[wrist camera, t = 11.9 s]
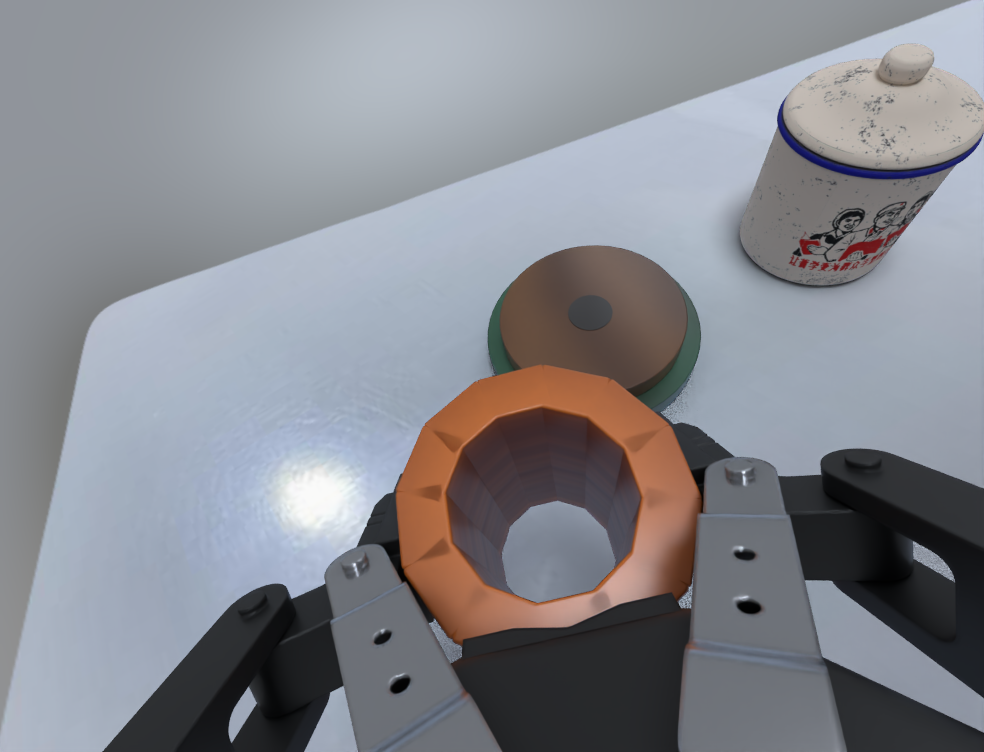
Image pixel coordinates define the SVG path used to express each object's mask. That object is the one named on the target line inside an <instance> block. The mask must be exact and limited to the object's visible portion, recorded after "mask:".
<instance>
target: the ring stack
mask: <svg viewBox="0 0 984 752" xmlns="http://www.w3.org/2000/svg"><path fill="white" fill-rule="evenodd" d="M700 341H701V331H700V323H699V319H698V315H697V312H696V310H695V307H694V305H693V303H692V301H691V299H690V298H689V296H688V295H687V293H686V292H685V290H684V289H683V288H682V287H681V286H680V285H679V284H678V282H676V281H675V280H674V279H673V278H672V277H671V276H670V275H669V274H668V273H667V272H666V271H665V270H664V269H663V268H661V267H660V266H659V265H657V264H656V263H655V262H653V261H652V260H650V259H648V258H646V257H644V256H642V255H640V254H637V253H635V252H632V251H629V250H625V249H622V248H616V247H611V246H581V247H574V248H569V249H565V250H562V251H559V252H555V253H553V254H551V255H548V256H546V257H544V258H542V259H540V260H539V261H537V262H535V263H534V264H532V265H531V266H530V267H528V268H527V269H526V270H525V271H524V272H522V273H521V274H520V275H519V276H518V278H517V279H516V280H515V281H513V282H512V283H511V284H510V285H509V287H508V288H507V289H506V290H505V291H504V292H503V294H502V295H501V297H500V298H499V300H498V302H497V304H496V306H495V308H494V310H493V312H492V315H491V318H490V322H489V328H488V348H489V354H490V357H491V360H492V364H493V367H494V370H495V373H496V376H497V375H501V374H505V373H509V372H513V371H517V370H521V369H524V368H528V367H532V366H536V365H542V366H543V365H549V366H554V367H559V368H564V369H569V370H573V371H578V372H583V373H588V374H593V375H598V376H602V377H607V378H610V380H612V379H613V380H614V381H616V382H617V383H618V384H619V385H621V386H622V387H623V388H625V389H626V390H627V391H628V392H630V393H631V394H632V395H633V396H635V397H636V398H637V399H638V400H640V401H641V402H642V403H644V404H645V405H646V406H647V407H649V408H650V409H651V410H652V411H654V412H656V411H659V412H661V411H662V410H664V409H665V408H666V407H667V406H668V405H670V404H671V403H672V402H673V401H674V400H675V398H676V397H677V396H678V395H679V394H680V393H681V391H682V390H683V388H684V387H685V385H686V384H687V382H688V380H689V377H690V375H691V373H692V371H693V368H694V366H695V363H696V361H697V358H698V354H699V350H700Z"/></svg>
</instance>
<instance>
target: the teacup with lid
mask: <svg viewBox="0 0 984 752" xmlns="http://www.w3.org/2000/svg"><path fill="white" fill-rule="evenodd" d="M933 62H934V53H933V51H932V50H931V49H930V48H928V47H926V46H923V45H920V44H902V45H899V46H896V47H894V48H892V49H891V50H890V51H888V52H887V53H886V54H885V55H884V57H883V59H863V60H855V61H848V62H844V63H839V64H836V65H832V66H829V67H826V68H824V69H821V70H819V71H817V72H815V73H813V74H811V75H810V76H808V77H806V78H805V79H804V80H802V81H801V82H800V83H799V84H798V85H796V86H795V87H794V88H793V89H792V91H791V92H790V93H789V95H788V96H787V97H786V98H785V99H784V101H783V102H782V104H781V106H780V109H779V112H778V116H777V123H778V127H777V129H776V132H775V135H774V137H773V140H772V143H771V145H770V148H769V150H768V153H767V156H766V158H765V161H764V164H763V166H762V169H761V171H760V174H759V177H758V179H757V182H756V184H755V187H754V190H753V192H752V195H751V198H750V200H749V203H748V205H747V208H746V211H745V213H744V216H743V218H742V221H741V225H740V238H741V242H742V245H743V247H744V249H745V251H746V252H747V254H748V255H749V256H750V258H751V259H752V260H753V261H754V262H755V263H756V264H758V265H759V266H760V267H761V268H763V269H764V270H766V271H768V272H769V273H771V274H773V275H775V276H777V277H780V278H782V279H785V280H788V281H792V282H796V283H801V284H807V285H834V284H840V283H845V282H849V281H852V280H854V279H857V278H859V277H861V276H863V275H865V274H867V273H868V272H870V271H871V270H872V269H873V268H874V267H875V266H877V265H878V263H879V262H880V261H881V260H882V258H883V257H884V256H885V255H886V253H887V252H888V251H889V250H890V248H891V247H892V246H893V244H894V243H895V242H896V241H897V239H898V238H899V237H900V235H901V234H902V233H903V232H904V230H905V229H906V228H907V227H908V225H909V224H910V223H911V221H912V220H913V219H914V218H915V216H916V215H917V214H918V213H919V211H920V210H921V209H922V207H923V206H924V205H925V204H926V202H927V201H928V200H929V198H930V197H931V196H932V195H933V193H934V192H935V191H936V190H937V188H938V187H939V186H940V184H941V183H942V182H943V181H944V179H945V178H946V177H947V176H948V174H949V173H950V172H951V170H952V169H953V168H954V167H955V165H956V164H958V163H960V162H961V161H963V160H964V159H966V158H967V157H968V156H969V155H970V154H971V153H972V152H973V151H974V150H975V149H976V148H977V146H978V145H979V143H980V141H981V139H982V136H983V133H984V102H983V100H982V98H981V97H980V96H979V94H978V93H977V92H976V91H975V90H974V89H973V88H972V87H971V86H970V85H969V84H968V83H966V82H965V81H963V80H962V79H960V78H958V77H957V76H955V75H953V74H951V73H949V72H946V71H944V70H942V69H939V68H936V67H933V66H932V64H933Z"/></svg>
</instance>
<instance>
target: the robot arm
mask: <svg viewBox="0 0 984 752" xmlns="http://www.w3.org/2000/svg"><path fill="white" fill-rule="evenodd" d="M655 413H656V414H657V415H659V416H660V417H661V418H663V419H664V420H665V421H666V422H668V424H669V426H671V427H672V429H673V431H674V433H675V436H676V438H677V440H678V443H679V445H680V447H681V450H682V452H683V454H684V457H685V459H686V461H687V464H688V466H689V468H690V471H691V473H692V475H693V478H694V480H695V482H696V485H697V487H698V489H699V491H700V494H701V496H702V502H703V505H702V513H698V514H697V526H696V542H695V558H694V574H693V590H692V606H691V609H690V608H680V606H679V604H678V602H677V601H676V599H675V597H674V595H673V594H672V592H670V593H666V594H661V595H657V596H653V597H648V598H644V599H639V600H635V601H630V602H626V603H622V604H618V605H616V606H614V607H612V608H610V609H607V610H605V611H603V612H601V613H599V614H597V615H594V616H592V617H590V618H588V619H586V620H583V621H581V622H579V623H577V624H575V625H572V626H569V627H553V628H511V629H507V630H503V631H498V632H494V633H489V634H485V635H481V636H476V637H472V638H467V639H463V645H462V658H460V659H458V660H456V661H454V662H453V663H451V664H450V662H449V660H448V658H447V656H446V655H445V653H444V651H443V649H442V647H441V645H440V643H439V642H438V640H437V638H436V636H435V634H434V632H433V631H432V629H431V627H430V625H429V623H430V622H433V621H434V617H433V615H432V614H431V612H430V611H429V609H428V608H427V606H426V605H425V604H424V602H423V601H422V599H421V598H420V596H419V595H418V593H417V592H416V591H415V589H414V588H413V586H412V585H411V583H410V582H409V581H408V579H407V578H406V576H405V575H404V569H402V567H401V557H400V544H399V532H398V520H397V507H396V493H397V491H396V488H397V486H398V483H399V481H400V479H401V476H402V474H403V473H402V474H400V477H399V479H398V482H397V484H396V487H395V489H394V492H393V493H389V494H386V495H385V496H384V497H383V498H382V499H381V500H380V501H379V502H378V503H377V504H376V505H375V507H374V509H373V511H372V514H371V518H369V520H368V523H367V527H365V529H364V532H363V534H362V536H361V538H360V541H359V543H358V545H357V547H356V548H354V549H351V550H349V551H347V552H345V553H344V554H342V555H341V556H339V557H338V558H337V559H335V560H334V561H333V562H332V563H331V564H330V565H329V567H328V568H327V570H326V572H325V575H324V578H325V583H326V584H324V585H322V586H320V587H318V588H316V589H314V590H311V591H309V592H307V593H305V594H302V595H300V596H298V597H295V598H293V599H291V597H290V594H289V592H288V590H287V588H286V586H284V585H282V584H270V585H266V586H263V587H260V588H258V589H255V590H253V591H251V592H249V593H248V594H246V595H244V596H243V597H241V598H240V599H238V600H237V601H236V602H234V603H233V604H232V605H231V606H230V607H229V608H228V609H227V610H226V611H225V612H224V613H223V615H222V616H221V617H220V618H219V619H218V620H217V621H216V623H215V624H214V625H213V626H212V627H211V628H210V629H209V631H208V632H207V633H206V634H205V635H204V636H203V637H202V639H201V640H200V641H199V642H198V643H197V644H196V645H195V647H194V648H193V649H192V650H191V651H190V652H189V653H188V655H187V656H186V657H185V658H184V659H183V660H182V661H181V663H180V664H179V665H178V666H177V667H176V668H175V669H174V671H173V672H172V673H171V674H170V675H169V676H168V677H167V679H166V680H165V681H164V682H163V683H162V684H161V685H160V687H159V688H158V689H157V690H156V691H155V692H154V693H153V695H152V696H151V697H150V698H149V699H148V700H147V701H146V703H145V704H144V705H143V706H142V707H141V708H140V709H139V711H138V712H137V713H136V714H135V715H134V716H133V717H132V719H131V720H130V721H129V722H128V723H127V724H126V725H125V727H124V728H123V729H122V730H121V731H120V732H119V733H118V735H117V736H116V737H115V738H114V739H113V740H112V741H111V743H110V744H109V745H108V746H107V747H106V748H105V749H104V751H103V752H304V751H305V749H306V747H307V745H308V743H309V740H310V738H311V736H312V734H313V732H314V730H315V728H316V726H317V724H318V722H319V720H320V718H321V715H322V713H323V711H324V709H325V707H326V705H327V703H328V700H329V696H330V692H332V691H334V690H336V689H338V688H340V687H342V686H344V689H345V694H346V698H347V703H348V707H349V712H350V716H351V721H352V726H353V730H354V735H355V739H356V744H357V748H358V752H984V733H983V732H981V731H979V730H977V729H975V728H972V727H970V726H968V725H966V724H964V723H962V722H960V721H958V720H955V719H953V718H951V717H949V716H947V715H945V714H943V713H940V712H938V711H936V710H934V709H932V708H930V707H928V706H926V705H923V704H921V703H919V702H917V701H915V700H913V699H911V698H909V697H906V696H904V695H902V694H900V693H898V692H896V691H894V690H892V689H889V688H887V687H885V686H883V685H881V684H879V683H877V682H874V681H872V680H870V679H868V678H866V677H864V676H862V675H860V674H857V673H855V672H853V671H851V670H849V669H847V668H845V667H843V666H840V665H838V664H836V663H834V662H832V661H830V660H828V659H826V658H823V657H822V654H821V650H820V645H819V641H818V637H817V632H816V628H815V623H814V619H813V615H812V610H811V606H810V602H809V597H808V593H807V588H806V584H805V580H829V581H833V583H834V584H835V585H836V587H837V588H839V589H840V590H841V591H842V592H843V593H845V594H846V595H847V596H849V597H850V598H851V599H853V600H854V601H855V602H857V603H858V604H859V605H861V606H862V607H863V608H865V609H866V610H867V611H869V612H870V613H871V614H873V615H874V616H875V617H877V618H878V619H879V620H881V621H882V622H883V623H885V624H886V625H887V626H889V627H890V628H891V629H893V630H894V631H895V632H897V633H898V634H899V635H901V636H902V637H903V638H905V639H906V640H907V641H909V642H910V643H911V644H913V645H914V646H915V647H917V648H918V649H919V650H921V651H922V652H923V653H925V654H926V655H927V656H929V657H930V658H931V659H933V660H934V661H935V662H937V663H938V664H939V665H941V666H942V667H943V668H945V669H946V670H947V671H949V672H950V673H951V674H953V675H954V676H955V677H956V678H958V679H959V680H960V681H962V682H963V683H964V684H966V685H967V686H968V687H970V688H971V689H972V690H974V691H975V692H976V693H978V694H979V695H980V696H982V697H983V698H984V489H983V488H981V487H978V486H975V485H973V484H970V483H967V482H965V481H962V480H960V479H957V478H954V477H952V476H949V475H946V474H944V473H941V472H938V471H936V470H933V469H931V468H928V467H925V466H923V465H920V464H917V463H915V462H912V461H909V460H907V459H904V458H902V457H899V456H896V455H894V454H891V453H887V452H883V451H879V450H872V449H844V450H839V451H835V452H832V453H829V454H827V455H826V456H824V457H823V458H822V460H821V463H820V464H821V475H810V476H789V477H786V476H778V474H777V471H776V469H775V467H774V466H772V465H771V464H770V463H768V462H765V461H763V460H759V459H755V458H748V457H734V456H733V455H732V454H731V453H729V452H728V451H727V450H726V449H724V448H723V447H722V446H720V445H719V444H718V443H715V441H714V440H713V439H712V438H710V437H709V436H707V434H705V433H704V432H703V431H702V430H700V429H699V428H698V427H695V426H692V425H688V424H685V423H678V424H673V423H672V422H670V421H669V420H668V419H667V418H666V417H665V416H664V415H662V414H661V413H660V412H659V411H656V412H655ZM913 541H914V542H916V543H918V544H920V545H922V546H924V547H925V548H927V549H929V550H931V551H932V552H934V553H935V554H937V555H938V556H939V557H940V558H942V559H943V561H944V562H945V563H946V564H947V565H948V566H949V568H950V570H951V571H952V573H953V575H954V578H955V582H953V581H951V580H949V579H948V578H946V577H944V576H942V575H941V574H939V573H937V572H935V571H934V570H932V569H930V568H929V567H927V566H925V565H923V564H922V563H920V562H918V561H916V560H915V559H914V558H913ZM248 686H249V688H250V690H251V692H252V694H253V696H254V698H255V700H256V702H257V704H256V706H255V707H254V709H253V710H252V712H251V714H250V715H249V717H248V718H247V720H246V722H245V723H244V725H243V726H242V728H241V729H240V731H239V733H238V734H237V736H236V737H235V739H234V741H233V742H232V743H231V741H230V739H229V733H228V728H229V721H230V717H231V714H232V711H233V709H234V707H235V706H236V704H237V703H238V701H239V700H240V698H241V697H242V695H243V694H244V692H245V691H246V689H247V688H248Z"/></svg>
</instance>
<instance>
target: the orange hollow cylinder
mask: <svg viewBox="0 0 984 752" xmlns="http://www.w3.org/2000/svg"><path fill="white" fill-rule="evenodd" d="M396 491H397V493H396V507H397V520H398V532H399V544H400V557H401V567H402V569H404V575H405V576H406V578H407V579H408V581H409V582H410V583H411V585H412V586H413V588H414V589H415V591H416V592H417V593H418V595H419V596H420V598H421V599H422V601H423V602H424V604H425V605H426V606H427V608H428V609H429V611H430V612H431V614H432V615H433V617H434V618H435V619H436V621H437V622H438V624H439V625H440V627H441V628H442V630H443V631H444V632H445V634H446V635H447V637H448V638H450V639H453V642H454V643H455V644H457V645H460V646H462V645H463V639H467V638H472V637H476V636H481V635H485V634H489V633H494V632H498V631H503V630H507V629H511V628H553V627H569V626H572V625H575V624H577V623H579V622H581V621H583V620H586V619H588V618H590V617H592V616H594V615H597V614H599V613H601V612H603V611H605V610H607V609H610V608H612V607H614V606H616V605H618V604H622V603H626V602H630V601H635V600H639V599H644V598H648V597H653V596H657V595H661V594H666V593H670V592H672V594H673V595H674V597H675V599H676V601H677V602H679V600H680V599H681V598H682V597H683V596H684V595H685V594H686V593H687V592H688V589H689V587H690V586H691V584H692V578H693V571H694V558H695V542H696V526H697V514H698V513H702V505H703V502H702V496H701V494H700V491H699V489H698V487H697V485H696V482H695V480H694V478H693V475H692V473H691V471H690V468H689V466H688V464H687V461H686V459H685V457H684V454H683V452H682V450H681V447H680V445H679V443H678V440H677V438H676V436H675V433H674V431H673V429H672V427H671V426H669V424H668V422H666V421H665V420H664V419H663V418H661V417H660V416H659V415H657V414H656V413H655V412H654V411H652V410H651V409H650V408H649V407H647V406H646V405H645V404H644V403H642V402H641V401H640V400H638V399H637V398H636V397H635V396H633V395H632V394H631V393H630V392H628V391H627V390H626V389H625V388H623V387H622V386H621V385H619V384H618V383H617V382H616V381H614V380H613V379H612V380H610V378H607V377H602V376H598V375H593V374H588V373H583V372H578V371H573V370H569V369H564V368H559V367H554V366H549V365H543V366H542V365H536V366H532V367H528V368H524V369H521V370H517V371H513V372H509V373H505V374H501V375H497V376H493V377H489V378H485V379H481V380H478V382H474V383H473V384H472V385H471V386H469V387H468V388H467V389H466V390H465V391H463V392H462V393H461V394H460V395H459V396H457V397H456V398H455V399H454V400H453V401H451V402H450V403H449V404H448V405H447V406H445V407H444V408H443V409H442V410H441V411H440V412H438V413H437V414H436V415H435V416H434V417H432V418H431V419H430V420H429V421H428V422H426V423H425V426H423V428H422V430H421V433H420V435H419V437H418V439H417V442H416V444H415V446H414V449H413V451H412V453H411V456H410V458H409V460H408V463H407V465H406V467H405V469H404V472H403V474H402V476H401V479H400V481H399V483H398V486H397V488H396ZM554 501H561V502H564V503H568V504H571V505H574V506H578V507H581V508H585V509H586V510H587V511H588V512H589V513H590V514H591V515H592V516H593V517H594V518H595V519H596V520H597V521H598V522H599V523H600V524H601V525H602V526H603V527H604V528H605V529H606V531H607V534H608V537H609V540H610V544H611V547H612V550H613V553H614V556H615V560H616V561H615V566H614V569H613V570H612V571H611V572H610V573H609V574H608V575H607V576H606V577H605V578H604V579H603V580H602V581H601V582H600V583H599V585H598V586H597V587H596V588H595V589H594V590H593V591H589V592H585V593H580V594H576V595H571V596H567V597H563V598H558V599H554V600H549V601H545V602H541V603H536V602H533V601H530V600H527V599H525V598H522V597H519V596H517V595H515V594H514V593H513V592H512V591H511V589H510V588H509V587H508V586H507V582H506V577H505V571H504V566H503V561H502V556H501V554H502V551H503V548H504V544H505V541H506V538H507V535H508V532H509V528H510V526H511V525H512V524H513V523H514V522H515V521H516V520H517V519H518V518H519V517H521V516H522V515H523V514H524V513H525V512H526V511H527V510H528V509H529V508H530V507H533V506H537V505H541V504H545V503H549V502H554Z"/></svg>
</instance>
